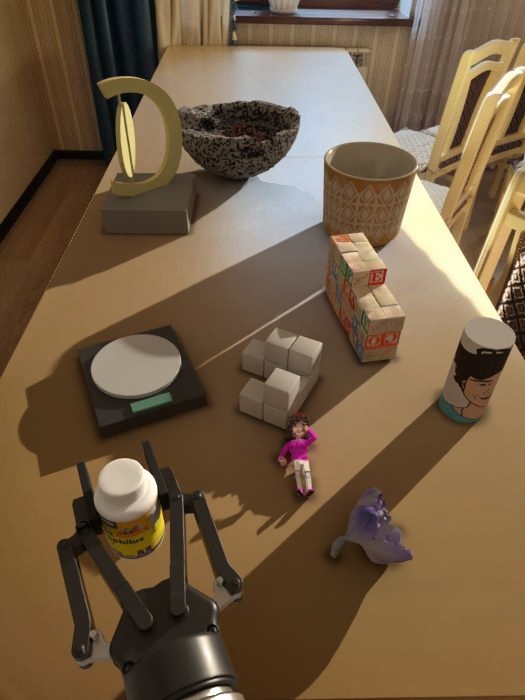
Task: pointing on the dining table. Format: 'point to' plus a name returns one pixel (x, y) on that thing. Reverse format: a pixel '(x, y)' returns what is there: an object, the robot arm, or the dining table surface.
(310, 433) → the character figurine
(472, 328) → the illustrated cylindrical canister
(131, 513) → the supplement bottle
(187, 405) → the kitchen scale
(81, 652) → the robot arm
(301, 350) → the white cube cluster
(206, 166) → the bowl
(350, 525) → the flower
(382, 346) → the stack of blocks
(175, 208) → the trophy
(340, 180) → the planter
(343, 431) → the dining table surface
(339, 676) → the dining table surface
